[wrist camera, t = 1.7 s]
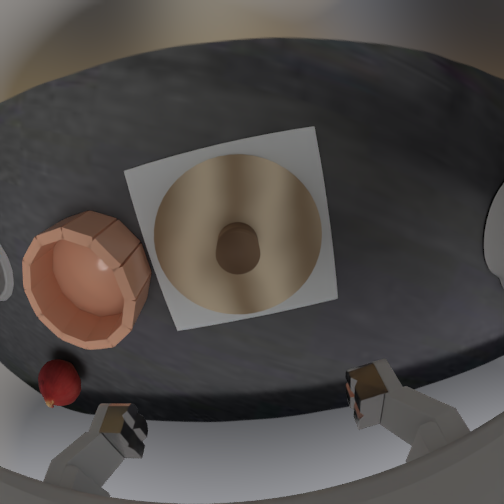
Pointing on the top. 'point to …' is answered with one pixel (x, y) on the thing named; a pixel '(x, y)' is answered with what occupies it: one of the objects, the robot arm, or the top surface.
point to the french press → (5, 276)
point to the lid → (237, 234)
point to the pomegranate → (59, 383)
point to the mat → (265, 146)
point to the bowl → (87, 279)
